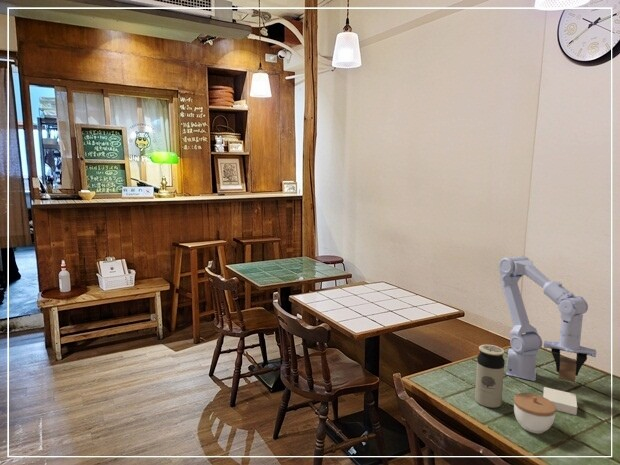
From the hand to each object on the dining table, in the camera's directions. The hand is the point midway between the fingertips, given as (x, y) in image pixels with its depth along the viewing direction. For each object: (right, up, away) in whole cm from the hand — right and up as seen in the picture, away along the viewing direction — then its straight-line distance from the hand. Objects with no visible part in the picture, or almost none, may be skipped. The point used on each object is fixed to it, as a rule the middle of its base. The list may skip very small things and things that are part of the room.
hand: (566, 372), depth 134 cm
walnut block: (0, -2, 0) cm, 2 cm away
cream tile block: (-5, -9, -4) cm, 11 cm away
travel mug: (-27, -9, -3) cm, 29 cm away
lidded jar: (-20, -11, -16) cm, 28 cm away
